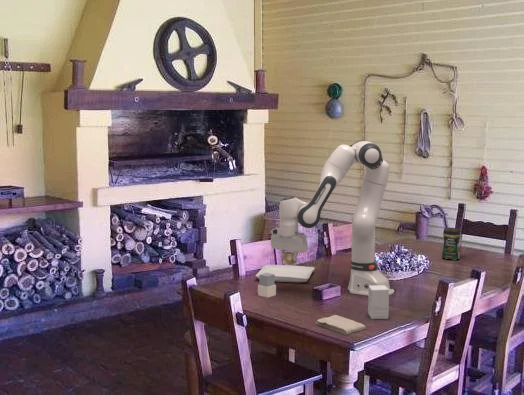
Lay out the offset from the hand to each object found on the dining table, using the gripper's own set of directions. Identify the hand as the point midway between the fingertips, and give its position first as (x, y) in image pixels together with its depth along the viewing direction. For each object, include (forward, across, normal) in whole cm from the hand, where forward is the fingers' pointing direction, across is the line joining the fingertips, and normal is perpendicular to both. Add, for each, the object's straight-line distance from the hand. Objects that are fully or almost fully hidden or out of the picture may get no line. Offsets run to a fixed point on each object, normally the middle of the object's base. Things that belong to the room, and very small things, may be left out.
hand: (289, 259), depth 323 cm
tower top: (+10, +4, +12) cm, 16 cm away
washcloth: (+17, -49, +27) cm, 58 cm away
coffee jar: (+18, -23, -118) cm, 122 cm away
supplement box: (+17, -52, +5) cm, 55 cm away
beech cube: (+2, 0, 0) cm, 2 cm away
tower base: (+15, +4, +12) cm, 20 cm away
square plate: (+16, +21, -22) cm, 34 cm away
